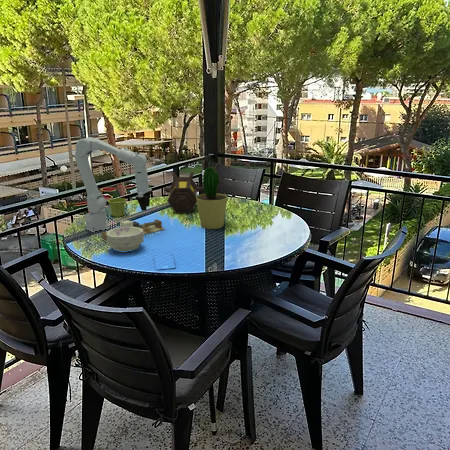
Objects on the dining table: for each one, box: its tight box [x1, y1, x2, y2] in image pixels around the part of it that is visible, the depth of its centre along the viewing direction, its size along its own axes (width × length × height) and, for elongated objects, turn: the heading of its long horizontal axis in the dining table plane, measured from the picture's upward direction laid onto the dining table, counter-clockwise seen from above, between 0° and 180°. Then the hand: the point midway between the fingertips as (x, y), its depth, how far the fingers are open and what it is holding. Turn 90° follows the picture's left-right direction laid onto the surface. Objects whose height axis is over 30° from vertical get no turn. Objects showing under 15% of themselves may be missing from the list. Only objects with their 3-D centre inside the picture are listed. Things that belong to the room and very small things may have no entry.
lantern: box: [163, 171, 204, 214], centre depth 239 cm, size 21×23×30 cm
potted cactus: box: [196, 166, 228, 230], centre depth 204 cm, size 15×15×30 cm
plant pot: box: [107, 197, 127, 218], centre depth 226 cm, size 9×9×9 cm
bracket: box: [132, 220, 140, 228], centre depth 196 cm, size 2×4×4 cm, turn 41°
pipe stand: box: [101, 219, 166, 241], centre depth 196 cm, size 30×8×4 cm, turn 131°
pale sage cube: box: [119, 219, 134, 228], centre depth 193 cm, size 4×5×6 cm
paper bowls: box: [106, 226, 145, 251], centre depth 177 cm, size 15×15×8 cm
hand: (145, 208), depth 200 cm, fingers open, 7 cm apart
